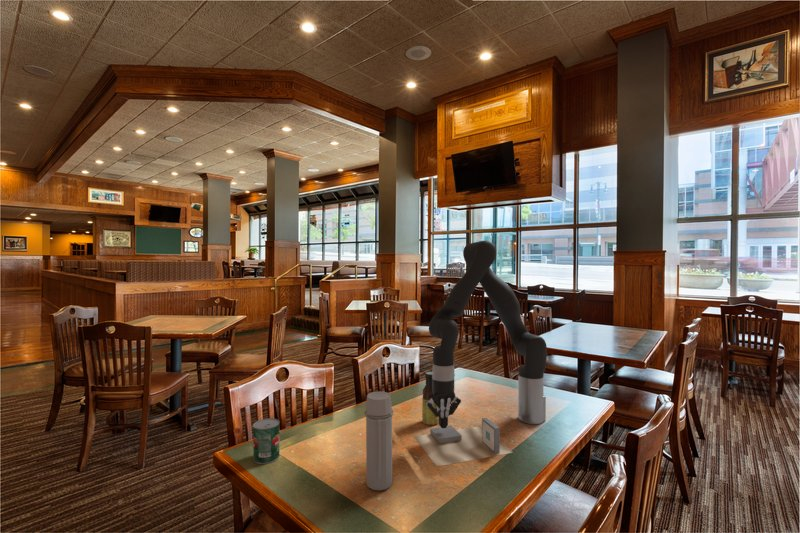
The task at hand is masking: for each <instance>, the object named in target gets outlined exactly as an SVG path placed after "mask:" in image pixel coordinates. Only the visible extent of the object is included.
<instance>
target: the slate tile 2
mask: <svg viewBox="0 0 800 533" xmlns="http://www.w3.org/2000/svg"><path fill="white" fill-rule="evenodd" d="M481 427H482V443H484V444H485V445H486V446H487V447H488V448H489V449H490V450H491V451H493V452H494V453H495V454H497V453H500V442H501V441H500V434H501V432H500V431H501V429H500V427H499V426H498V425H497V424H495V423H494V422H492V420H490V419H488V417H483V418H481Z"/></svg>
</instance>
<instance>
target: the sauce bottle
mask: <svg viewBox="0 0 800 533" xmlns="http://www.w3.org/2000/svg"><path fill="white" fill-rule="evenodd" d="M424 374H425V375H424V376H425V386H424V387H423V389H422V402H421V404H422V407H421V408H422V411H421V412H422V423H423V425H425V426H430V427H432V426H437V425H439V417H436V416H435V415H434V414H433V412H432V411H431V410H430V409H429V407H428V406H427V405H426V404H425V402H426V401H429V400H430V399H431V395H432V371H427V372H425V373H424ZM433 404H434V406H433V407H434V408H435V410H436V411H437V412H438V409H437V405H436V404H435V403H434V401H433Z"/></svg>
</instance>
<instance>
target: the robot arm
mask: <svg viewBox="0 0 800 533" xmlns="http://www.w3.org/2000/svg"><path fill="white" fill-rule="evenodd" d="M462 255H463V259H464V262H465V264H466V265H467V267H468V269H467V271H466V272H465V273H464V274H463V276H462V277H461V278H460V279H459V280H458V281H457V282H456V284H455V285H454V286H452V288H451V290H450V292H449V294H448V296H447V298H446V300H445V302H444V304H443V305H442V306H441V307H440V308H439V309H438V311H437V312H436V313H435V314H434V315H433V317H432V318H431V320H430V321H429V325H428V332H429V335H431V337H433V338H436V339H439V340H441V342H440V345H436V346H434V348H433V351H432V352H433V353H432V371H431V372H432V395H431V399H430V400H429V401H426V402H425V404H426V405H427V406H428V407H429V409H430V410H431V411H432V412H433V414H434V415H435V416H436V417H439V423H438V427H441V428H447V426H449V416H452V415H454V413H455V412H456V410H457V409H458V407H459V406H460V404H461V403H462V400H461V399H460V398H459V397H458V396H456V393H455V376H456V375H455V365H454V363H455V361H454V360H455V359H454V357H455V356H454V355H455V349H456V345H457V342H458V339H459V332H460V331H459V325H458V324H457V322H456V321H455V320H453V319H455V318H458V317H459V318H460V317H461V316H462V315H463V313H464V311H465V309H466V307H467V305H468V303H469V301H470V298H471V297H472V295H473V293H474V292H475V290H476V288H477V286H478V285H480V286H481V287H482V289H483V291H484V293H485V294H486V296H487V297H488V299H489V301H490V303H491V305H492V307H493V309H494V311H495V312H496V314H497V315H498V317H499V319H500V321H501V322H502V324H503V325H504V327H505V329H506V331H507V333H508V335H509V338H510V341H511V343H512V345H513V348H514V349H515V351H516V352H517V353H518V354H519V355H520V356H523V357H524V358H525V363H524V365H521V366H519V367H518V379H517V380H518V394H517V395H518V398H517V399H518V400H517V401H518V403H517V404H518V407H517V408H518V409H517V411H518V412H517V415H518V420H519V421H520V422H521V423H525V424H527V425H528V424H529V425H540V424H542V423H544V422H546V421H547V419H546V418H547V415H546V411H547V410H546V407H547V406H546V405H547V404H546V402H547V401H546V400H547V397H546V395H544V378H545V377H544V374H545V371H546V367H547V355H548V352H547V351H548V347H547V343H546V340H545V339H544V338H543V337H542V336H539V335H538V334H537V335H536V334H532V333H530V332H529V331H528V330H527V328H526V326H525V324H524V323H523V321H522V317H521V315H522V314H521V313H522V312H521V304H520V302H519V300H518V299H519V298H517V295H516V294H515V292H514V291H513V289H512V287H511V286H510V285H508V283H507V282H505V281H504V280H503V279H501V277H499V276H498V275H497V274H495V272H494V271H493V270H492V269H491V267H492V265H493V263H494V262H495V260H496V257H497V248H496V246H495V244H494V243H493V242H492V241H490V240H478V241H476V242H474V241H473V242H471V243H468V244H466V245H465V246H464V248H463V250H462ZM433 401H434V403H435V404H436V405H437V409H438V412H437V411H436V410H435V408H434V407H433V406H434V404H433Z"/></svg>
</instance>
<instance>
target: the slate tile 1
mask: <svg viewBox="0 0 800 533" xmlns="http://www.w3.org/2000/svg"><path fill="white" fill-rule="evenodd" d="M429 430H430V432H429V434H431V435H432V436H433V437H434V438H435V439H436V440H437V441H438V442H439V444H441V443H447V442H453V441H459V440H462V435H461V434H460V433H458V432H457V431H456V430H457V429H455V427H453V426H452V425H448V426H447V428H441V427H440V426H438V427H432V428H430V429H429Z"/></svg>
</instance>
